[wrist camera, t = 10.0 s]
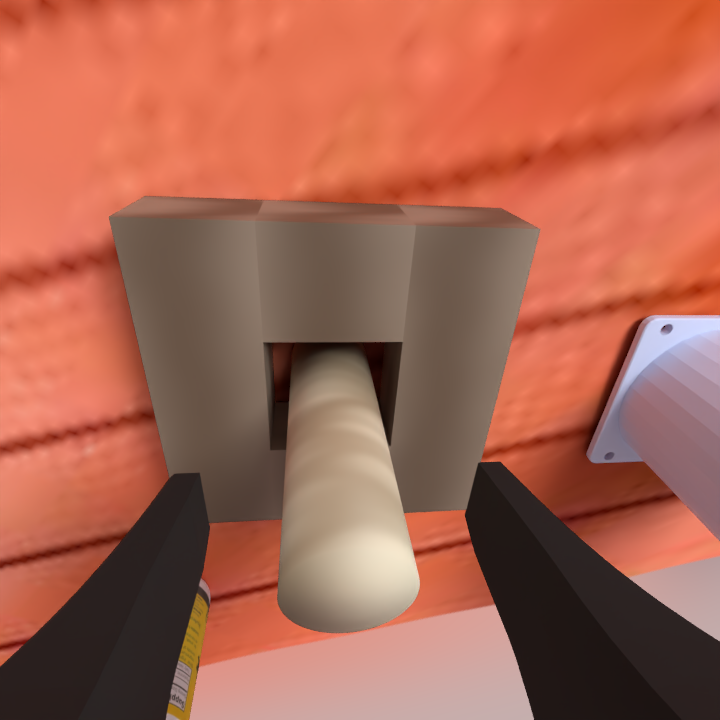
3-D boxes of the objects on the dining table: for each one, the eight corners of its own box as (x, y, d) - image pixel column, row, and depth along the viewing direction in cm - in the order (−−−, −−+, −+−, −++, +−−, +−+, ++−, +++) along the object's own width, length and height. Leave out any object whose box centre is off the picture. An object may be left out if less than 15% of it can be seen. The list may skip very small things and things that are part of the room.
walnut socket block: (501, 208, 15) (540, 228, 13) (448, 460, 21) (468, 509, 19) (145, 196, 14) (108, 216, 11) (196, 470, 20) (180, 524, 17)
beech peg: (367, 323, 17) (428, 543, 9) (363, 386, 19) (411, 627, 10) (290, 323, 17) (273, 552, 8) (293, 387, 18) (280, 638, 10)
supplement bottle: (169, 629, 26) (104, 878, 18) (88, 592, 24) (-33, 862, 15) (233, 588, 25) (196, 837, 16) (155, 546, 22) (63, 813, 14)
